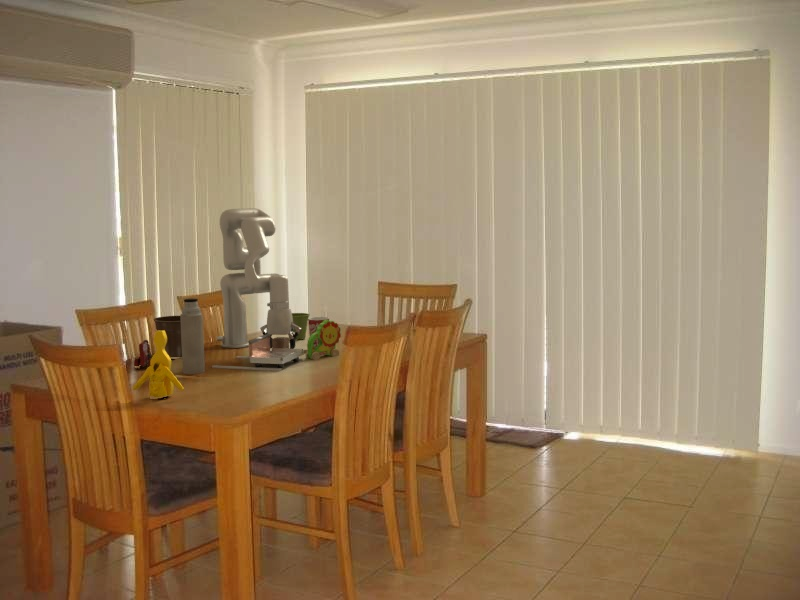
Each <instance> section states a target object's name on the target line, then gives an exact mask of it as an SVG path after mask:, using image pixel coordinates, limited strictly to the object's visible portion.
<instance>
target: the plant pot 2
mask: <svg viewBox="0 0 800 600" xmlns="http://www.w3.org/2000/svg"><path fill="white" fill-rule="evenodd" d="M310 315H311V314H310V313H308V312H307V313H306V312H293V313H292V317H293V324H295V325H297V326H299V327H300V328H301V330H300V332H299V335H298V336H297V337H296V338H295V341H298V340H302V339H303V340H305V339H306V336H307V329H308V323H309V322H308V318H310ZM293 333H294V334H295V333H296V329H294V331H293ZM288 337H289V340H290V339H291V338H290V336H289V335H288Z"/></svg>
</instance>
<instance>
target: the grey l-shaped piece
mask: <svg viewBox="0 0 800 600" xmlns="http://www.w3.org/2000/svg"><path fill="white" fill-rule="evenodd" d="M247 341H248V343H249V346H248V352H249V353H248V357H249V359H248V360H249V363H250V364H254V365H255V366H254V367H260V368H263V364H267V365H268V364H272V365H273V364H274V365H276V366H277V367H276V368H282V369H283V368H284V367H285V364H286V363H288V362H290V361H291V360H293V363H297V362H300V361H299V359H300V357H301V356H304V349H303V348H294V349H290V348H289V349H288V348H270V334H265V335H263V334H262V335H260V336H257V337H255V338H252V339H249V340H247Z"/></svg>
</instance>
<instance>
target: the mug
mask: <svg viewBox="0 0 800 600" xmlns="http://www.w3.org/2000/svg"><path fill="white" fill-rule="evenodd" d="M324 320H328V321H330V317H329V316H312V317H309V318H308V322H307V323H308V330H309V331H308V332H309V333H308V334H309V337H310V336H311V335H312V334H313V333H315V332H316V329H317V328H318V326H319V324H320V323H322V322H323V321H324ZM318 345H319V340H318V338H316V339H315V340H314V343H313V348H314V349H315V348H316V347H317V346H318Z"/></svg>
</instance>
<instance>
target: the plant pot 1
mask: <svg viewBox="0 0 800 600" xmlns="http://www.w3.org/2000/svg"><path fill="white" fill-rule="evenodd" d="M153 322H154V325H155V329H156V331H158V330H160V331H163V330H165V333H166V335H167V343H166V346H165V351H166V352H167V354H168V355H169V357H182V342H181V320H180V315H166V316H158V317H155V318H153Z"/></svg>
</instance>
